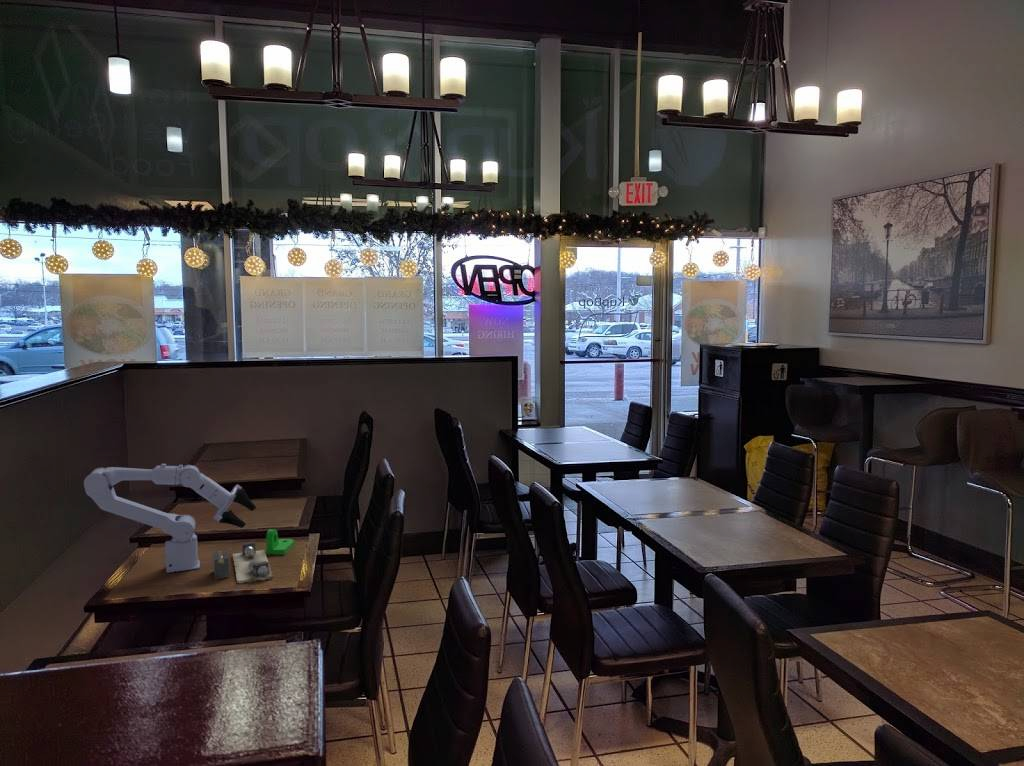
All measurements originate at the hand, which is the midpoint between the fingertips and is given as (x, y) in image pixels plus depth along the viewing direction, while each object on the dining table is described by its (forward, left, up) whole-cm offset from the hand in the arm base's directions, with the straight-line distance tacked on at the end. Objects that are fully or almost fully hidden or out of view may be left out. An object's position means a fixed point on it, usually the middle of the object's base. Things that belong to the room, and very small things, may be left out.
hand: (249, 517), depth 239 cm
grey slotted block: (-9, -11, -14) cm, 20 cm away
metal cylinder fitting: (0, +3, -14) cm, 14 cm away
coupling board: (0, -8, -14) cm, 16 cm away
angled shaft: (+1, -18, -14) cm, 23 cm away
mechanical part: (+10, +7, -14) cm, 19 cm away
